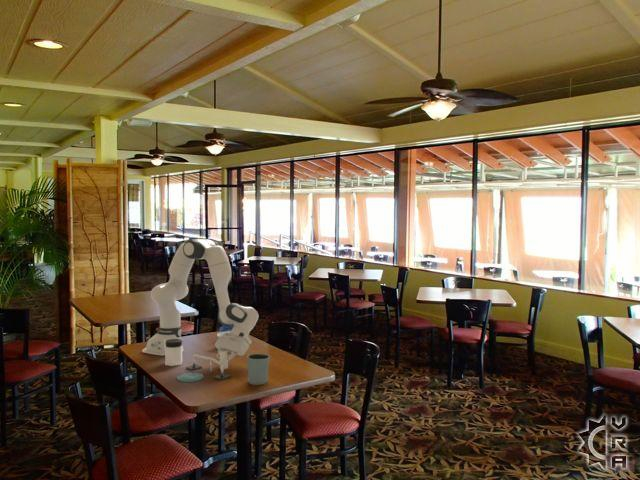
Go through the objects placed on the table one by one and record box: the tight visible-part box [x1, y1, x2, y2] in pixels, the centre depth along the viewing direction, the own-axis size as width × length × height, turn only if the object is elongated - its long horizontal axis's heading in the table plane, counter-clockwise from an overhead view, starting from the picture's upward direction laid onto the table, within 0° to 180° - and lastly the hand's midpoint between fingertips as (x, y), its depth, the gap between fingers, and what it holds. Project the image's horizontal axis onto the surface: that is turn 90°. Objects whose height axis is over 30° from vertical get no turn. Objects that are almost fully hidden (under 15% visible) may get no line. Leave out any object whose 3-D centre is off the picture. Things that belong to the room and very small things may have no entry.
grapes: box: [218, 324, 234, 333], centre depth 310 cm, size 12×7×12 cm, turn 116°
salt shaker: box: [219, 350, 229, 371], centre depth 252 cm, size 4×4×9 cm
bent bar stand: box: [185, 354, 231, 382], centre depth 244 cm, size 27×6×7 cm, turn 50°
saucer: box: [176, 372, 204, 383], centre depth 236 cm, size 12×12×1 cm
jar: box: [164, 338, 183, 367], centre depth 259 cm, size 9×8×12 cm
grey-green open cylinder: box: [246, 352, 270, 386], centre depth 232 cm, size 10×10×12 cm
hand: (222, 358), depth 251 cm, fingers open, 7 cm apart
